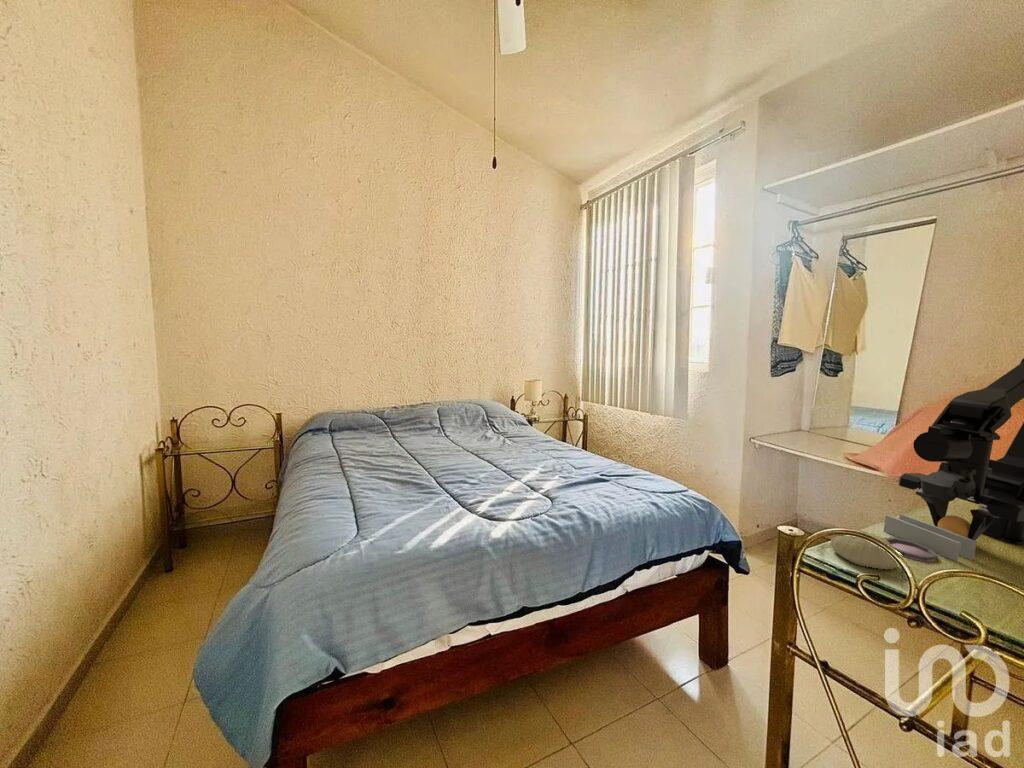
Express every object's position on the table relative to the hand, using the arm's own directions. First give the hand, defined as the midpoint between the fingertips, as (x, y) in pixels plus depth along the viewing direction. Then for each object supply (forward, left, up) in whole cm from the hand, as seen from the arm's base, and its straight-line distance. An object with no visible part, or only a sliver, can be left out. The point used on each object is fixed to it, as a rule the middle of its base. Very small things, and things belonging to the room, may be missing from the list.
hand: (954, 535), depth 85 cm
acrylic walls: (+9, 0, -1) cm, 9 cm away
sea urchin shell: (+28, +3, -1) cm, 28 cm away
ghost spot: (+16, +2, -1) cm, 16 cm away
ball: (0, 0, +2) cm, 2 cm away
